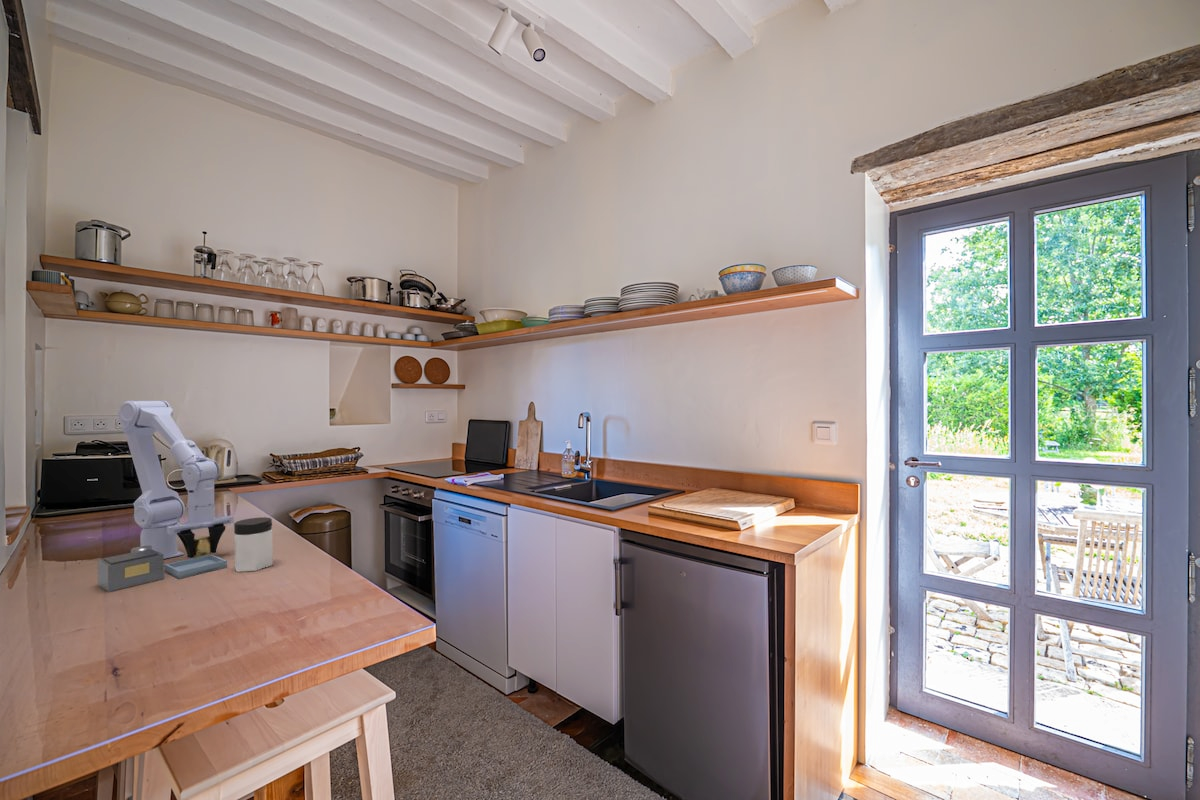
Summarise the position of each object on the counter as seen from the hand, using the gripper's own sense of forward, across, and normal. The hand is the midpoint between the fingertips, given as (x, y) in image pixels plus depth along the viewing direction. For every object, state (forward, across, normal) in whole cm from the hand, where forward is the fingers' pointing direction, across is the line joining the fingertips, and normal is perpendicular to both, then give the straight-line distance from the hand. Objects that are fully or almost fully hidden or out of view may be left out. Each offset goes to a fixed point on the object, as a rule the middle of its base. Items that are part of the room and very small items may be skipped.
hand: (201, 554), depth 139 cm
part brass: (+1, 0, 0) cm, 1 cm away
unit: (+1, -16, -6) cm, 17 cm away
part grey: (+1, -12, +2) cm, 12 cm away
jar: (+2, +5, -18) cm, 19 cm away
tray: (+1, -4, -8) cm, 9 cm away
